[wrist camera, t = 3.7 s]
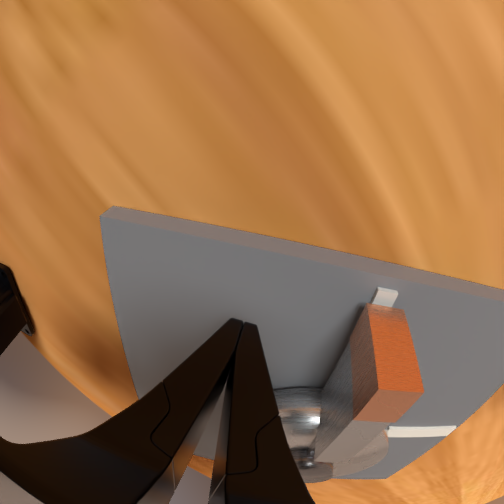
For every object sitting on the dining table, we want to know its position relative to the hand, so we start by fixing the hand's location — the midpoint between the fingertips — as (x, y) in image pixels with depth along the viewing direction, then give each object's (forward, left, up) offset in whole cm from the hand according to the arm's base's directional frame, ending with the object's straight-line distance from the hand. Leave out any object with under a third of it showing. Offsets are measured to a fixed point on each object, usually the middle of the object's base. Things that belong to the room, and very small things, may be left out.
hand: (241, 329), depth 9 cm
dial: (+5, -7, -2) cm, 8 cm away
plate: (+5, -9, -3) cm, 11 cm away
